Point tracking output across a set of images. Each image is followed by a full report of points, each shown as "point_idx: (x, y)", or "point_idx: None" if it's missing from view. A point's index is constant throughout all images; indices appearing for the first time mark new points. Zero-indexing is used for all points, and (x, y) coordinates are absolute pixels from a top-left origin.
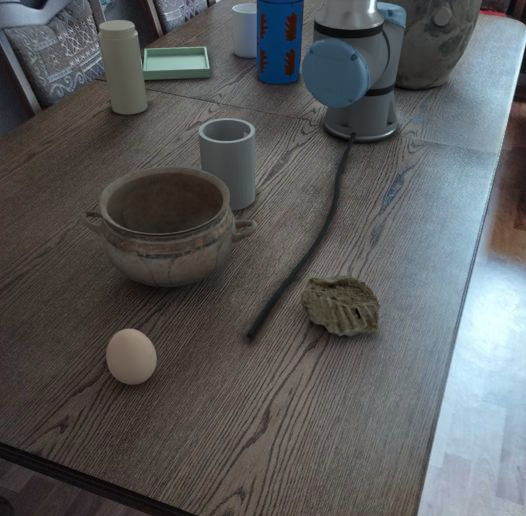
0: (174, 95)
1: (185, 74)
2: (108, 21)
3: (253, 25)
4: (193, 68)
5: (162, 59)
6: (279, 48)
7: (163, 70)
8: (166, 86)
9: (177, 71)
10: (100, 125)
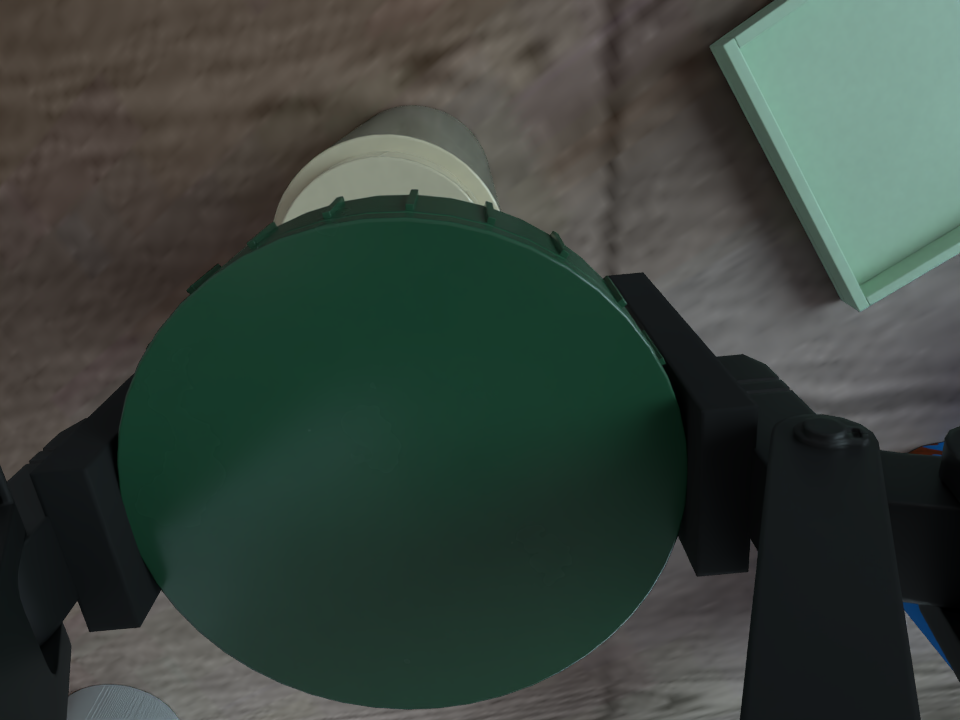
0: (605, 275)
1: (803, 217)
2: (418, 176)
3: None
4: (836, 249)
5: None
6: (925, 632)
7: (768, 134)
8: (679, 189)
9: (794, 189)
10: (213, 190)
